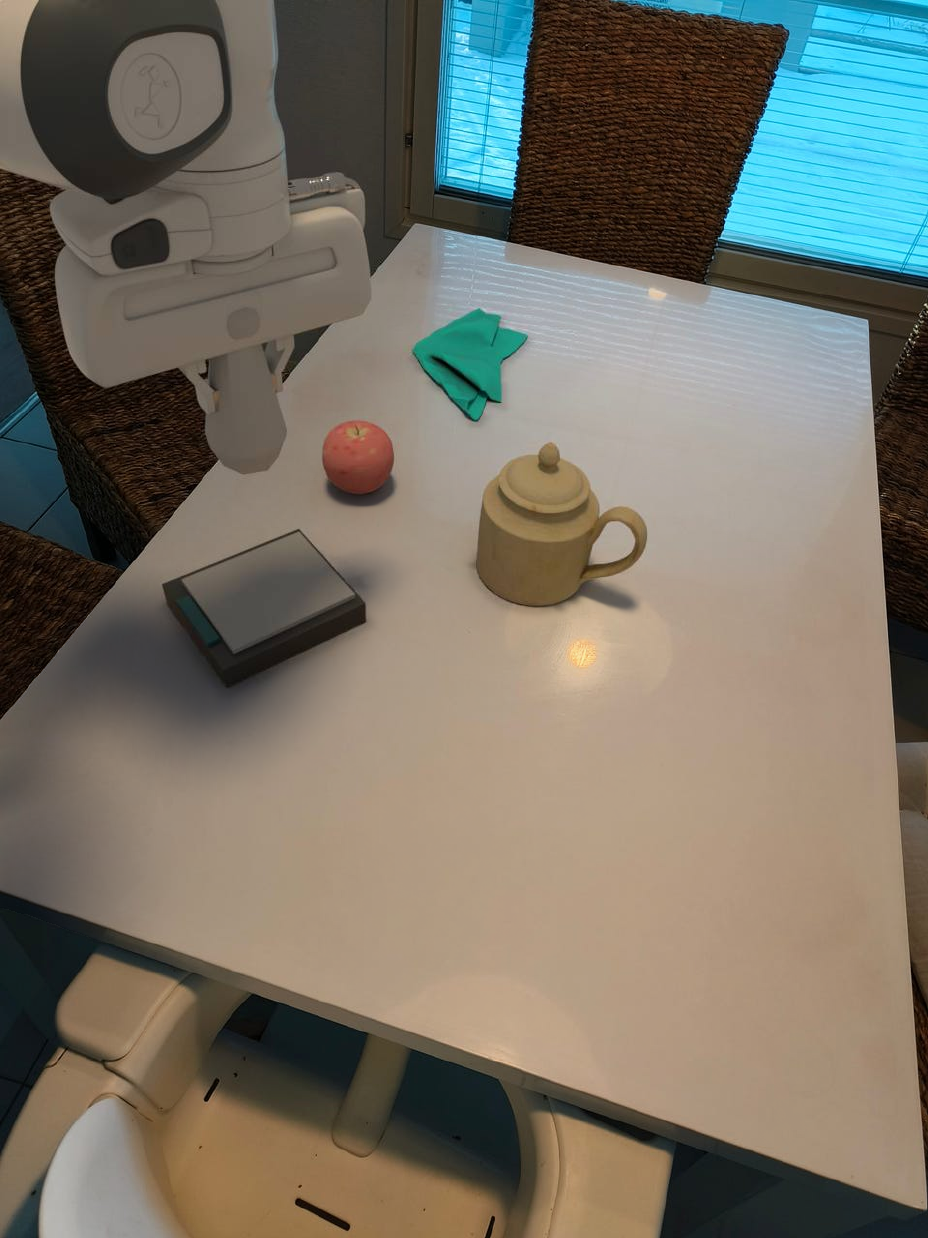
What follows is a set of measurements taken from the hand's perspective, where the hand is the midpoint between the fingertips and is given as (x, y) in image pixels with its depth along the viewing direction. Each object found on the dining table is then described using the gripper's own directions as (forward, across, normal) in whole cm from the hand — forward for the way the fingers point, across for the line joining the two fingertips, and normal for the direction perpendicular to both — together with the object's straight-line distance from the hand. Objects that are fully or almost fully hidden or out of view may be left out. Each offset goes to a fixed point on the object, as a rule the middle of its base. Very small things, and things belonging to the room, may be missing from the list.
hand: (241, 399), depth 60 cm
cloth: (+24, -43, -27) cm, 56 cm away
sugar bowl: (+24, -26, +8) cm, 36 cm away
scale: (+24, 0, -1) cm, 24 cm away
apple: (+24, -17, -12) cm, 32 cm away
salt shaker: (+5, 0, 0) cm, 5 cm away
